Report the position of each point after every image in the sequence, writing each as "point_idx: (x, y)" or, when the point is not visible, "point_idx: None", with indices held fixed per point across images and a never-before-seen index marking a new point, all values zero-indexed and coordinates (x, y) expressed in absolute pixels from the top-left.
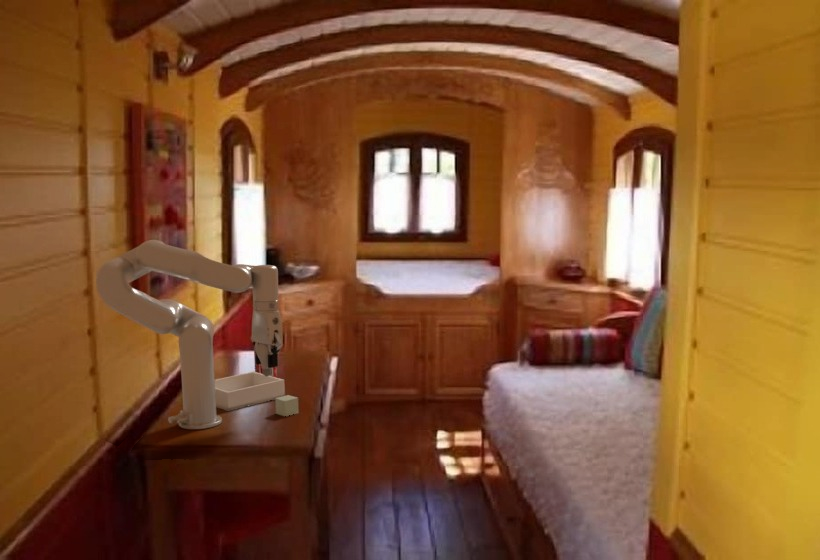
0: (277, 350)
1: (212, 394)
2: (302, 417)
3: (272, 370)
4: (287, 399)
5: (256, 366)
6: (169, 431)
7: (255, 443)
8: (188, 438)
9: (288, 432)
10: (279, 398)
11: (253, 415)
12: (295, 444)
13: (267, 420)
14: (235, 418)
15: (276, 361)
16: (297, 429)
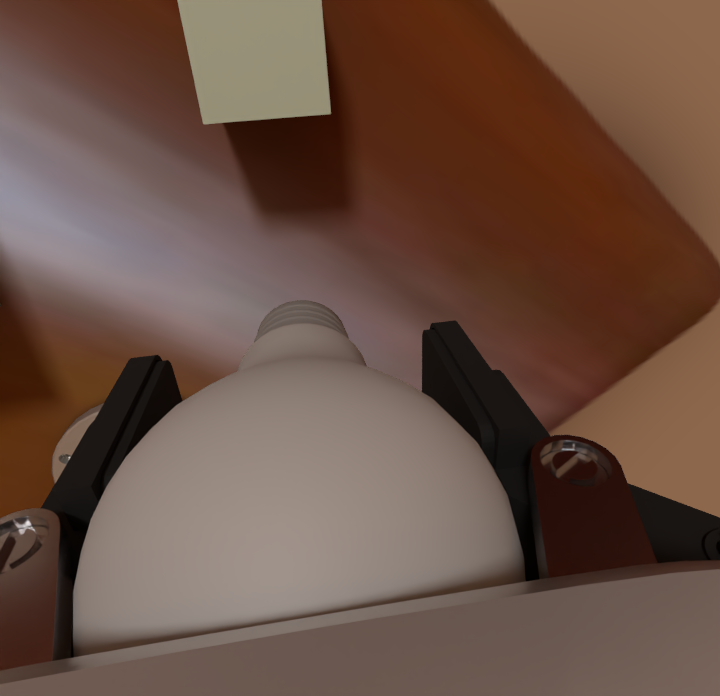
0: (675, 536)
1: None
2: (417, 28)
3: None
4: (301, 67)
5: None
6: None
7: (547, 412)
8: None
9: (559, 256)
10: (230, 101)
11: (173, 241)
12: (691, 315)
13: (317, 231)
14: (171, 334)
15: (509, 389)
16: (563, 198)
